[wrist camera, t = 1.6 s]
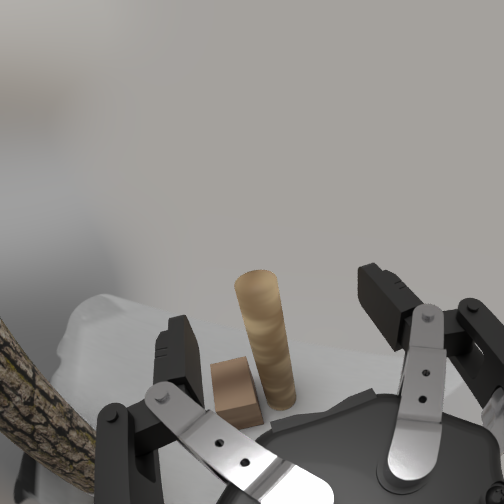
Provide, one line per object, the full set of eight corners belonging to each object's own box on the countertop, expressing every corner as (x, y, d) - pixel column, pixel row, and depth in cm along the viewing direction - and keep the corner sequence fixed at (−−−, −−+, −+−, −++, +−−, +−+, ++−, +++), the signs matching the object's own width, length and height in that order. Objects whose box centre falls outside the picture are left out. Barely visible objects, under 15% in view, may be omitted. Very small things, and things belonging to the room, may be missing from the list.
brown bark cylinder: (147, 461, 29) (10, 301, 17) (146, 510, 23) (-31, 370, 11) (100, 461, 29) (-36, 313, 16) (96, 506, 23) (-72, 370, 11)
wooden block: (264, 423, 32) (256, 402, 30) (227, 431, 32) (215, 411, 29) (253, 379, 38) (245, 356, 36) (220, 387, 38) (210, 364, 36)
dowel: (270, 413, 33) (237, 300, 24) (264, 391, 36) (231, 276, 28) (299, 405, 34) (281, 288, 25) (291, 383, 37) (271, 265, 28)
